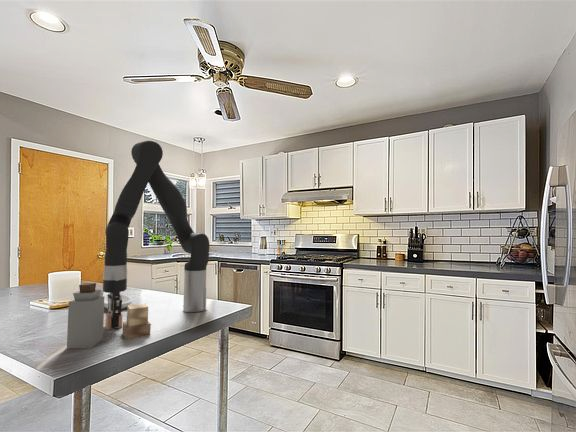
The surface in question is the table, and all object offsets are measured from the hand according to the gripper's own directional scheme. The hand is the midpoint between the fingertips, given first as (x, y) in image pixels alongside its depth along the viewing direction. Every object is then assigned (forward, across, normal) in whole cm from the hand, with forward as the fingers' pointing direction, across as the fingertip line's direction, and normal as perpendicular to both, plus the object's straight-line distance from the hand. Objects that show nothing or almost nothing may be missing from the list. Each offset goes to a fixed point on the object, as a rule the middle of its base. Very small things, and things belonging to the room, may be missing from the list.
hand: (113, 325), depth 111 cm
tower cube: (-3, +14, +5) cm, 15 cm away
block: (+1, 0, 0) cm, 1 cm away
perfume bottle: (+1, +14, -10) cm, 17 cm away
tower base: (+1, +13, +5) cm, 14 cm away
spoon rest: (+1, -33, +4) cm, 33 cm away
